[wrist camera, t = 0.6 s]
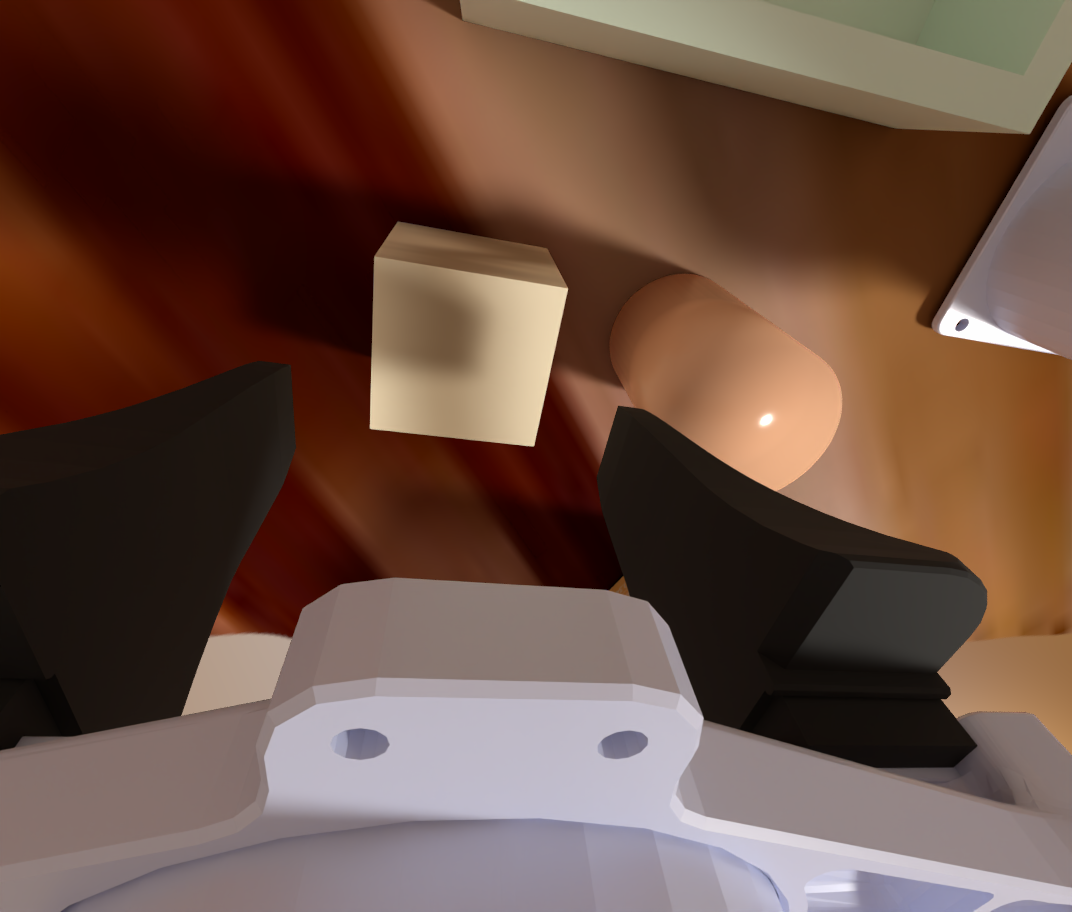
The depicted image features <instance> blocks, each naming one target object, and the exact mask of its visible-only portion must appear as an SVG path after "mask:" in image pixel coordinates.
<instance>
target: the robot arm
mask: <svg viewBox="0 0 1072 912" xmlns="http://www.w3.org/2000/svg"><path fill="white" fill-rule="evenodd" d="M960 320H961V321H960ZM959 321H960V323H959V324H958V326H956V324H957V323H958V322H959ZM955 326H956V327H955ZM932 329H933V330H934V331H935V332H937V333H939V334H942V335H945V336H951V337H957V338H963V339H969V340H975V341H981V342H986V343H992V344H998V345H1004V346H1010V347H1016V348H1021V349H1027V350H1033V351H1039V352H1045V353H1051V354H1056V355H1061V356H1063V357H1065V358H1068V359H1070V360H1072V95H1071V96H1069V97H1068V98H1067V99H1066V100H1064V101H1063V103H1062V104H1061V105H1060V107H1059V108H1058V109H1057V111H1056V113H1055V114H1054V116H1053V118H1052V120H1051V121H1050V123H1049V125H1048V126H1047V128H1046V130H1045V131H1044V133H1043V135H1042V136H1041V138H1040V140H1039V142H1038V143H1037V145H1036V147H1035V148H1034V150H1033V152H1032V153H1031V155H1030V157H1029V158H1028V160H1027V162H1026V164H1025V165H1024V167H1023V169H1022V170H1021V172H1020V174H1019V175H1018V177H1017V179H1016V180H1015V182H1014V184H1013V185H1012V187H1011V189H1010V191H1009V192H1008V194H1007V196H1006V197H1005V199H1004V201H1003V202H1002V204H1001V206H1000V207H999V209H998V211H997V213H996V214H995V216H994V218H993V219H992V221H991V223H990V224H989V226H988V228H987V229H986V231H985V233H984V235H983V236H982V238H981V240H980V241H979V243H978V245H977V246H976V248H975V250H974V251H973V253H972V255H971V256H970V258H969V260H968V262H967V263H966V265H965V267H964V268H963V270H962V272H961V273H960V275H959V277H958V278H957V280H956V282H955V284H954V285H953V287H952V289H951V290H950V292H949V294H948V295H947V297H946V299H945V300H944V302H943V304H942V306H941V307H940V309H939V311H938V312H937V314H936V316H935V317H934V319H933V322H932ZM295 449H296V444H295V428H294V412H293V395H292V379H291V365H287V364H279V363H271V362H263V361H257V362H253V363H249V364H246V365H243V366H240V367H237V368H235V369H232V370H229V371H227V372H224V373H222V374H219V375H217V376H214V377H211V378H209V379H206V380H204V381H201V382H198V383H196V384H193V385H191V386H188V387H186V388H183V389H180V390H177V391H174V392H171V393H168V394H165V395H162V396H160V397H157V398H154V399H151V400H148V401H145V402H142V403H139V404H136V405H133V406H129V407H126V408H123V409H119V410H116V411H112V412H108V413H104V414H100V415H96V416H92V417H88V418H84V419H80V420H76V421H71V422H67V423H62V424H57V425H51V426H46V427H40V428H35V429H29V430H24V431H19V432H13V433H8V434H2V435H0V912H1072V755H1071V754H1070V753H1069V752H1068V751H1067V750H1066V748H1065V747H1064V746H1063V745H1062V744H1061V743H1060V742H1059V741H1058V740H1057V739H1056V738H1055V737H1054V736H1053V735H1052V733H1051V732H1050V731H1049V730H1048V729H1047V728H1046V727H1045V726H1044V725H1043V724H1042V723H1041V722H1040V720H1039V719H1038V718H1037V717H1036V716H1035V715H1034V714H1030V713H1026V712H973V713H968V714H965V715H963V716H961V717H958V718H957V719H956V718H955V717H954V715H953V714H952V713H951V712H950V710H949V709H948V708H947V707H946V705H945V704H944V703H943V701H942V700H941V699H947V698H948V697H949V696H950V695H951V691H950V687H949V686H948V685H947V684H946V683H945V681H944V680H943V679H942V678H941V677H940V675H939V674H938V673H937V672H938V671H939V669H940V668H941V667H942V666H943V665H944V664H945V663H946V662H947V661H948V660H949V659H950V658H951V657H952V655H953V654H954V653H955V652H956V651H957V650H958V649H959V648H960V647H961V646H962V645H963V644H964V642H965V641H966V640H967V639H968V638H969V637H970V636H971V635H972V633H973V632H974V631H975V629H976V628H977V627H978V625H979V624H980V623H981V620H982V618H983V615H984V613H985V610H986V607H987V590H986V588H985V586H984V585H983V583H982V581H981V580H980V579H979V578H978V577H977V576H976V575H975V574H974V573H973V572H972V571H971V570H970V569H968V568H967V567H966V566H965V565H964V564H963V563H962V562H961V561H960V560H959V559H958V558H956V557H955V556H953V555H951V554H949V553H947V552H944V551H940V550H937V549H933V548H930V547H926V546H922V545H919V544H915V543H912V542H908V541H905V540H901V539H897V538H894V537H890V536H887V535H884V534H881V533H878V532H875V531H872V530H869V529H866V528H863V527H860V526H857V525H854V524H851V523H848V522H846V521H843V520H840V519H838V518H835V517H833V516H830V515H827V514H825V513H822V512H820V511H818V510H815V509H813V508H811V507H808V506H806V505H804V504H801V503H799V502H797V501H794V500H792V499H790V498H788V497H786V496H784V495H782V494H780V493H778V492H776V491H774V490H772V489H770V488H768V487H766V486H764V485H762V484H760V483H758V482H757V481H755V480H753V479H751V478H749V477H747V476H746V475H744V474H742V473H740V472H739V471H737V470H736V469H734V468H732V467H731V466H729V465H728V464H726V463H724V462H723V461H721V460H720V459H718V458H716V457H715V456H713V455H712V454H710V453H709V452H707V451H706V450H704V449H703V448H701V447H700V446H699V445H697V444H696V443H694V442H693V441H691V440H690V439H689V438H687V437H686V436H684V435H683V434H682V433H680V432H679V431H677V430H676V429H674V428H673V427H672V426H670V425H669V424H667V423H666V422H664V421H663V420H661V419H660V418H658V417H657V416H655V415H654V414H652V413H650V412H648V411H646V410H644V409H639V408H631V407H623V406H618V408H617V411H616V415H615V418H614V421H613V425H612V428H611V432H610V435H609V438H608V442H607V445H606V448H605V452H604V455H603V458H602V462H601V465H600V468H599V472H598V475H597V483H598V489H599V496H600V502H601V507H602V512H603V516H604V519H605V522H606V525H607V528H608V531H609V534H610V537H611V540H612V543H613V546H614V549H615V552H616V555H617V558H618V561H619V564H620V567H621V570H622V573H623V576H624V579H625V582H626V585H627V588H628V592H629V595H630V596H626V595H623V594H619V593H615V592H612V591H608V590H599V589H582V588H565V587H548V586H531V585H514V584H497V583H480V582H462V581H445V580H428V579H411V578H387V579H379V580H371V581H364V582H356V583H348V584H341V585H339V586H338V587H336V588H334V589H333V590H331V591H330V592H328V593H326V594H325V595H323V596H322V597H320V598H318V599H317V600H315V601H314V602H312V603H310V604H309V605H307V606H306V607H304V608H303V609H302V612H301V615H300V618H299V621H298V623H297V626H296V629H295V632H294V635H293V637H292V640H291V643H290V646H289V649H288V652H287V655H286V658H285V661H284V664H283V667H282V670H281V672H280V675H279V678H278V681H277V684H276V687H275V690H274V693H273V696H272V699H267V700H262V701H257V702H252V703H246V704H241V705H236V706H231V707H226V708H220V709H215V710H210V711H205V712H200V713H194V714H189V715H184V716H181V715H182V712H183V709H184V706H185V703H186V700H187V697H188V694H189V691H190V688H191V685H192V683H193V679H194V677H195V674H196V671H197V668H198V665H199V663H200V660H201V657H202V655H203V652H204V649H205V646H206V644H207V641H208V638H209V636H210V633H211V630H212V628H213V625H214V622H215V620H216V617H217V615H218V612H219V610H220V607H221V605H222V602H223V600H224V597H225V595H226V592H227V590H228V587H229V585H230V583H231V580H232V578H233V576H234V574H235V572H236V570H237V568H238V566H239V564H240V562H241V560H242V558H243V557H244V555H245V553H246V551H247V549H248V548H249V546H250V544H251V542H252V540H253V539H254V537H255V535H256V533H257V531H258V529H259V528H260V526H261V524H262V522H263V520H264V519H265V517H266V515H267V513H268V511H269V510H270V508H271V506H272V504H273V502H274V500H275V498H276V497H277V495H278V493H279V491H280V489H281V487H282V485H283V483H284V480H285V478H286V475H287V472H288V469H289V467H290V464H291V461H292V458H293V455H294V452H295Z"/></svg>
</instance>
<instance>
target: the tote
mask: <svg viewBox="0 0 1072 912" xmlns="http://www.w3.org/2000/svg"><path fill="white" fill-rule="evenodd" d="M460 5H461V13H462V20H463V21H466V22H470V23H474V24H478V25H482V26H486V27H490V28H494V29H498V30H502V31H506V32H510V33H514V34H518V35H522V36H526V37H530V38H534V39H538V40H542V41H546V42H550V43H554V44H558V45H562V46H566V47H570V48H574V49H578V50H582V51H586V52H590V53H594V54H598V55H602V56H606V57H610V58H614V59H618V60H622V61H626V62H630V63H634V64H639V65H643V66H647V67H651V68H655V69H659V70H663V71H667V72H671V73H675V74H679V75H683V76H687V77H691V78H695V79H699V80H703V81H707V82H711V83H715V84H719V85H723V86H727V87H731V88H735V89H739V90H743V91H747V92H751V93H755V94H759V95H763V96H767V97H771V98H775V99H779V100H783V101H787V102H791V103H795V104H799V105H803V106H807V107H811V108H815V109H819V110H823V111H827V112H831V113H835V114H839V115H843V116H847V117H851V118H855V119H859V120H863V121H867V122H871V123H875V124H879V125H883V126H887V127H891V128H895V129H918V130H941V131H965V132H989V133H1013V134H1030V133H1031V131H1032V130H1033V128H1034V126H1035V124H1036V123H1037V121H1038V119H1039V118H1040V116H1041V114H1042V112H1043V111H1044V109H1045V107H1046V105H1047V104H1048V102H1049V100H1050V99H1051V97H1052V95H1053V93H1054V92H1055V90H1056V88H1057V87H1058V85H1059V83H1060V81H1061V80H1062V78H1063V76H1064V74H1065V73H1066V71H1067V69H1068V68H1069V66H1070V64H1071V62H1072V0H460Z"/></svg>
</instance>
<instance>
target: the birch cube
mask: <svg viewBox="0 0 1072 912" xmlns="http://www.w3.org/2000/svg"><path fill="white" fill-rule="evenodd" d="M567 292H568V287H567V285H566V283H565V282H564V280H563V278H562V276H561V274H560V272H559V270H558V268H557V266H556V264H555V262H554V261H553V259H552V257H551V255H550V253H549V251H548V249H547V248H543V247H538V246H532V245H527V244H521V243H515V242H510V241H504V240H499V239H493V238H487V237H482V236H476V235H471V234H465V233H460V232H454V231H448V230H443V229H437V228H432V227H426V226H420V225H415V224H409V223H404V222H397V224H396V225H395V226H394V228H393V229H392V231H391V232H390V234H389V235H388V237H387V238H386V240H385V241H384V243H383V244H382V246H381V247H380V249H379V250H378V252H377V253H376V255H375V256H374V288H373V327H372V367H371V407H370V429H377V430H386V431H396V432H405V433H414V434H423V435H432V436H442V437H451V438H460V439H469V440H478V441H488V442H497V443H506V444H515V445H524V446H534V444H535V439H536V434H537V430H538V425H539V421H540V416H541V411H542V407H543V402H544V398H545V393H546V388H547V384H548V379H549V375H550V370H551V365H552V361H553V356H554V352H555V347H556V342H557V338H558V333H559V329H560V324H561V319H562V315H563V310H564V306H565V301H566V296H567Z"/></svg>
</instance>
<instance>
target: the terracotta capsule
mask: <svg viewBox="0 0 1072 912" xmlns="http://www.w3.org/2000/svg"><path fill="white" fill-rule="evenodd" d="M609 350H610V358H611V363H612V365H613V368H614V370H615V372H616V374H617V376H618V378H619V379H620V381H621V383H622V385H623V387H624V389H625V391H626V392H627V394H628V396H629V398H630V400H631V402H632V404H633V405H634V407H635V408H639V409H644V410H646V411H648V412H650V413H652V414H654V415H655V416H657V417H658V418H660V419H661V420H663V421H664V422H666V423H667V424H669V425H670V426H672V427H673V428H674V429H676V430H677V431H679V432H680V433H682V434H683V435H684V436H686V437H687V438H689V439H690V440H691V441H693V442H694V443H696V444H697V445H699V446H700V447H701V448H703V449H704V450H706V451H707V452H709V453H710V454H712V455H713V456H715V457H716V458H718V459H720V460H721V461H723V462H724V463H726V464H728V465H729V466H731V467H732V468H734V469H736V470H737V471H739V472H740V473H742V474H744V475H746V476H747V477H749V478H751V479H753V480H755V481H757V482H758V483H760V484H762V485H764V486H766V487H768V488H770V489H772V490H774V491H777V490H779V489H781V488H783V487H785V486H787V485H788V484H790V483H792V482H793V481H794V480H796V479H797V478H799V477H800V476H801V475H803V474H804V473H805V472H806V471H807V470H808V469H809V468H811V466H812V465H813V464H814V463H815V462H816V461H817V460H818V459H819V458H820V457H821V455H822V454H823V453H824V451H825V450H826V449H827V447H828V445H829V444H830V442H831V441H832V438H833V436H834V434H835V432H836V430H837V427H838V424H839V421H840V417H841V412H842V393H841V388H840V384H839V381H838V379H837V377H836V375H835V373H834V372H833V370H832V369H831V368H830V366H829V365H828V364H827V363H826V362H825V361H824V360H823V359H821V358H820V357H819V356H817V355H816V354H815V353H813V352H812V351H810V350H809V349H808V348H806V347H805V346H803V345H802V344H801V343H799V342H798V341H796V340H795V339H794V338H792V337H791V336H789V335H788V334H787V333H785V332H784V331H782V330H781V329H780V328H778V327H777V326H775V325H774V324H773V323H771V322H770V321H768V320H767V319H766V318H764V317H763V316H761V315H760V314H759V313H757V312H756V311H754V310H753V309H752V308H750V307H749V306H747V305H746V304H745V303H743V302H742V301H740V300H739V299H738V298H736V297H735V296H733V295H732V294H731V293H729V292H728V291H727V290H725V289H724V288H722V287H721V286H720V285H718V284H717V283H715V282H713V281H712V280H710V279H708V278H705V277H703V276H699V275H695V274H674V275H668V276H665V277H662V278H659V279H657V280H655V281H652V282H650V283H649V284H647V285H645V286H644V287H642V288H641V289H640V290H638V291H637V292H636V293H635V294H634V295H633V296H632V297H631V298H630V299H629V300H628V301H627V302H626V303H625V305H624V306H623V307H622V309H621V310H620V312H619V314H618V315H617V318H616V320H615V322H614V324H613V327H612V330H611V335H610V343H609Z"/></svg>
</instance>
